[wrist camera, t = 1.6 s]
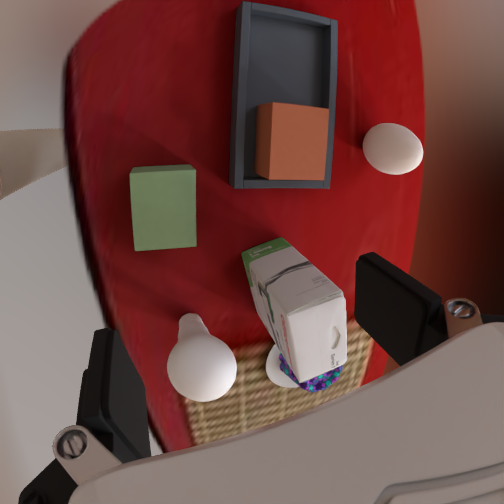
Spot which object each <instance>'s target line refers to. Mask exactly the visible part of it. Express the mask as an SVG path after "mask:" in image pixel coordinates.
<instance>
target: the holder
mask: <svg viewBox="0 0 504 504" xmlns="http://www.w3.org/2000/svg"><path fill="white" fill-rule="evenodd" d="M337 40H338V22H337V21H336V20H333V19H329V18H326V17H322V16H318V15H314V14H310V13H306V12H302V11H297V10H292V9H288V8H283V7H277V6H272V5H266V4H260V3H253V2H246V1H242V3H241V4H240V5H239V6H238V8H237V10H236V26H235V44H234V63H233V84H232V107H231V134H230V165H229V185H230V186H232V187H233V188H234V189H242V188H326V189H329V188H330V178H331V167H332V154H333V141H334V126H335V108H336V85H337ZM271 102H278V103H288V104H297V105H305V106H312V107H320V108H326V109H329V119H328V136H327V150H326V163H325V175H324V180H269V179H267V178H265V177H262V176H260V175H258V174H256V173H254V161H255V138H256V115H257V105H260V104H265V103H271Z"/></svg>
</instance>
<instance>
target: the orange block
mask: <svg viewBox="0 0 504 504" xmlns="http://www.w3.org/2000/svg"><path fill="white" fill-rule="evenodd" d="M328 119H329V109H326V108H320V107H312V106H305V105H297V104H288V103H278V102H271V103H265V104H260V105H257V115H256V138H255V161H254V173H256V174H258V175H260V176H262V177H265V178H267V179H269V180H324V175H325V163H326V150H327V136H328Z"/></svg>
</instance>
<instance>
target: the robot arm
mask: <svg viewBox="0 0 504 504" xmlns="http://www.w3.org/2000/svg"><path fill="white" fill-rule="evenodd" d="M441 301H442V297H440V296H439V295H438V294H436V293H435V292H433V291H432V290H431V289H429V288H428V287H426V286H425V285H423V284H422V283H420V282H419V281H417V280H416V279H414V278H413V277H411V276H410V275H408V274H407V273H405V272H404V271H402V270H401V269H399V268H398V267H396V266H395V265H393V264H392V263H390V262H389V261H387V260H385V259H384V258H382V257H381V256H379V255H378V254H376V253H374V252H370V253H367V254H364V255H361V256H360V257H359V259H358V260H357V261H356V282H355V311H354V316H355V319H356V321H357V323H358V324H359V325H360V326H361V327H362V328H363V329H364V330H365V331H366V332H367V333H368V334H369V335H370V336H371V337H372V338H373V339H374V340H375V341H376V342H377V343H378V344H379V345H380V346H381V347H382V348H383V349H384V350H385V351H386V352H387V353H388V354H389V355H390V356H391V357H392V358H393V359H394V360H395V361H396V362H397V363H398V364H399V365H400V366H401V367H399V368H397V369H395V370H393V371H392V372H390V373H388V374H386V375H384V376H382V377H380V378H378V379H376V380H374V381H372V382H370V383H368V384H366V385H364V386H362V387H359V388H357V389H355V390H353V391H351V392H349V393H347V394H344V395H342V396H340V397H338V398H335V399H333V400H331V401H329V402H326V403H324V404H321V405H319V406H317V407H314V408H312V409H309V410H307V411H304V412H302V413H299V414H297V415H294V416H291V417H289V418H286V419H283V420H280V421H278V422H275V423H272V424H269V425H266V426H263V427H260V428H257V429H254V430H251V431H248V432H245V433H241V434H238V435H235V436H231V437H228V438H224V439H221V440H217V441H214V442H210V443H206V444H202V445H198V446H195V447H191V448H187V449H182V450H178V451H174V452H169V453H165V454H160V455H156V456H152V457H151V450H150V441H149V431H148V421H147V409H146V395H145V387H144V383H143V381H142V379H141V377H140V375H139V374H138V372H137V370H136V368H135V366H134V364H133V362H132V360H131V358H130V356H129V354H128V352H127V350H126V348H125V346H124V344H123V342H122V340H121V338H120V336H119V334H118V332H117V331H116V330H113V331H112V329H111V328H109V327H108V328H104V329H100V330H96V331H95V332H94V337H93V342H92V348H91V353H90V359H89V365H88V369H86V370H85V371H84V373H83V377H82V384H81V390H80V397H79V405H78V413H77V422H76V425H72V426H69V427H66V428H64V429H63V430H61V431H60V432H59V433H58V434H57V436H56V437H55V439H54V442H53V452H54V455H55V457H56V458H55V460H53V461H52V462H51V463H50V464H49V465H48V466H47V467H46V468H45V469H44V470H43V471H42V472H41V473H40V474H39V475H38V476H37V477H36V478H35V479H34V480H33V481H32V482H31V483H29V484H28V485H27V486H26V487H25V488H24V490H23V491H22V492H21V494H20V497H19V503H18V504H504V316H500V315H487V314H480V312H479V309H478V307H477V306H476V305H475V304H474V303H473V302H471V301H470V300H467V299H464V298H453V299H450V300H448V301H447V302H446V303H445V305H443V304H441Z"/></svg>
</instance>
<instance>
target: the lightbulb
mask: <svg viewBox="0 0 504 504" xmlns="http://www.w3.org/2000/svg"><path fill="white" fill-rule="evenodd" d="M236 370H237V368H236V360H235V357H234V355H233V353H232V351H231V350H230V348H229V347H228V346H227V345H226V344H225V343H224V342H223V341H221V340H220V339H218V338H216V337H214V336H212V335H210V333H209V332H208V329H207V328H206V326H205V325H204V324H203V322H202V320H201V318H200V316H198V315H197V314H194V313H188V314H185V315H183V316H182V317H181V318H180V320H179V332H178V342H177V344H176V345H175V346H174V348H173V349H172V351H171V353H170V355H169V358H168V363H167V371H168V376H169V379H170V381H171V383H172V385H173V386H174V388H175V389H176V390H177V391H178V392H179V393H180V394H182V395H183V396H185V397H187V398H189V399H192V400H194V401H202V402H204V401H211V400H215V399H217V398H219V397H221V396H223V395H224V394H225V393H226V392H227V391H228V390H229V389H230V388H231V386H232V384H233V382H234V380H235V378H236Z"/></svg>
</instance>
